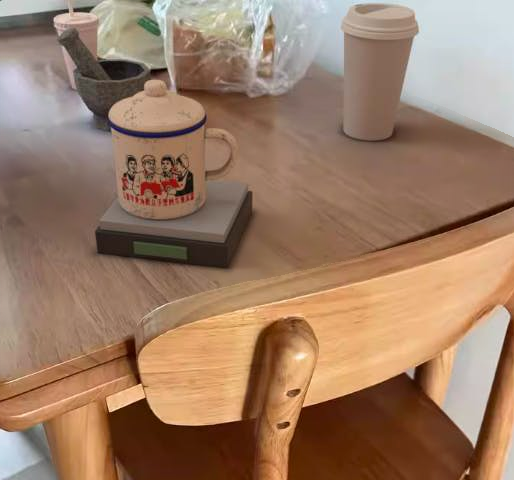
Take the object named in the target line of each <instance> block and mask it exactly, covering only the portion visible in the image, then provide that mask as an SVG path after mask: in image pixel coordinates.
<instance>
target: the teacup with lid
mask: <svg viewBox="0 0 514 480" xmlns="http://www.w3.org/2000/svg"><path fill="white" fill-rule="evenodd" d="M207 118H208V117H207V114H206V111H205V109H204V107H203V106H202V104H201V103H199V102H198V101H197V100H195V99H193V98H190V97H188V96H184V95H180V94H178V93H176V92H174V91H172V90H169V89H168V87H167V84H166V82H165V81H164V80H161V79H151V80H149V81H147V82H146V83H145V85H144V91H141V92H139V93H137V94H135V95H134V96H133V97H129V98H126V99H123V100H121V101H119V102H117V103H116V104H114V105H113V106H112V108H111V109H110V111H109V115H108V118H107V119H108V124H109V125H110V126H111V131H110V132H111V141H112V151H113V159H114V168H115V176H116V177H115V179H116V188H117V197H118V198H119V203H120V205H121V206H122V208H123V209H124V210H126V211H127V212H129V213H130V214H133V215H135V216H138V217H142V218H147V219H159V220H161V219H173V218H179V217H183V216H186V215H189V214H191V213H193V212H195V211H197V210H198V209H199V208H200V207H201V206H202V205H203V204H204V202H205V200H206V181H208V180H220V179H222V178H225V177H227V176H228V175H229V174H230V173H231V172H232V171H233V168H234V167H235V165H236V163H237V160H238V156H239V155H238V154H239V149H238V142H237V140H236V139H235V137H234V136H233V134H231V133H230V132H229V131H227V130H225V129H222V128H216V127H213V128H210V127H209V128H206V127H205V124H206V122H207ZM206 139H218V140H222V141H224V142H225V143H226V144H228V146H229V148H230V154H229V156H228V158H227V161H226V162H225V164H224V165H223V166H221V167H220V168H217V169H213V170H206V145H205V142H206V141H205V140H206Z"/></svg>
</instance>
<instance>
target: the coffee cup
mask: <svg viewBox="0 0 514 480" xmlns="http://www.w3.org/2000/svg"><path fill="white" fill-rule="evenodd" d="M340 30H342V32H343V130H342V131H343V133H345V135H346V136H348V137H349V138H353V139H357V140H360V141H368V142H369V141H370V142H374V141H382V140H386V139H389V138H390V137H391V136H392V135H393V132H394V127H395V123H396V119H397V114H398V109H399V105H400V102H401V101H400V100H401V96H402V91H403V87H404V83H405V78H406V73H407V70H408V65H409V60H410V55H411V52H412V48H413V44H414V39H415V36H417V35H419V33H420V29H419V23H418V20H417V19H416V13H415V11H414V10H413V9H412V8H409V7H408V6H404V5H400V4H394V3H385V2H365V3H364V2H363V3H357V4H354V5H352V6H350V7H349V8H348V11H347V14H346V15H345V16H344V17H343V18H342V20H341V24H340Z"/></svg>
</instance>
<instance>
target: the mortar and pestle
mask: <svg viewBox="0 0 514 480" xmlns="http://www.w3.org/2000/svg"><path fill="white" fill-rule="evenodd" d="M57 41H58V43H59V45H60V46H61V45H62V46H64V47H65V49H66V50H67V52H68V54H69V55H70V57H71V59H72V60H73V62H74V63H75V65H76V67H77V68H76V69H75V70H73V74H74V81H75V85H76V88H77V90H76V92H77V94H78V96H79V97H80V98H81V100H82V102H83V103H84V105H85V106H86V108H87V109H88V110H89V111H90V112H91V113H93V116H92V120H93V122H92V123H93V124H94V126H95V128H96V129H100V130H102V131H107V132H111V126H110V125H109V124H108V119H107V118H108V115H109V111H110V109H111V108H112V106H113V105H114V104H116V103H117V102H119V101H121V100H123V99H126V98H129V97H133V96H134V95H135V94H137V93H139V92H141V91H144V85H145V83H146V82H147V81H149V80H152V74H151V69H150V68H149V67H148V66H147V65H146V64H145V63H144V62H140V61H137V60H136V61H135V60H130V59H127V58H126V59H125V58H123V59H122V58H121V59H118V58H117V59H115V58H114V59H113V58H112V59H109V58H108V59H105V58H104V59H97V60H96V59H95V58H94V56H93V55H92V54H91V52H90V51H89V50H88V48H87V47H86V46H85V44H84V43H83V42H82V40H81V39H80V38H79V33H78V31H77V30H76V29H75V28H70V29H68V30H66V31H64V32H63V33H62V34H61V35H60V36H59V35H58V37H57ZM62 46H61V47H62Z"/></svg>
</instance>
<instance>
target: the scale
mask: <svg viewBox="0 0 514 480" xmlns="http://www.w3.org/2000/svg"><path fill="white" fill-rule="evenodd" d="M252 213H253V190H249V183H248V182H237V181H227V180H219V179H217V180H208V181H206V200H205V202H204V204H203V205H202V206H201V207H200V208H199V209H198V210H197V211H195V212H193V213H191V214H189V215H186V216H183V217H179V218H173V219H161V220H159V219H147V218H142V217H138V216H135V215H133V214H130V213H129V212H127V211H126V210H124V209H123V208H122V206H121V205H120V203H119V198H118V196H117V197H116V198H115V200H114V201H112V203H111V204H110V206H109V207H108V208H107V210H106V211H105V212H104V213H103V215H102V216H101V217H100V219H99V220H98V221H99V225H98V226H97V228H96V229H95V231H94V236H95V243H96V251H97V253H98V254H106V255H113V256H122V257H132V258H139V259H149V260H155V261H156V260H157V261H164V262H172V263H182V264H189V265H198V266H199V265H200V266H207V267H215V268H224V269H228V267H229V265H230V263H231V261H232V259H233V256H234V254H235V252H236V249H237V247H238V245H239V243H240V240H241V238H242V235H243V234H244V231H245V228H246V226H247V225H248V222H249V220H250V217H251V214H252Z"/></svg>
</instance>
